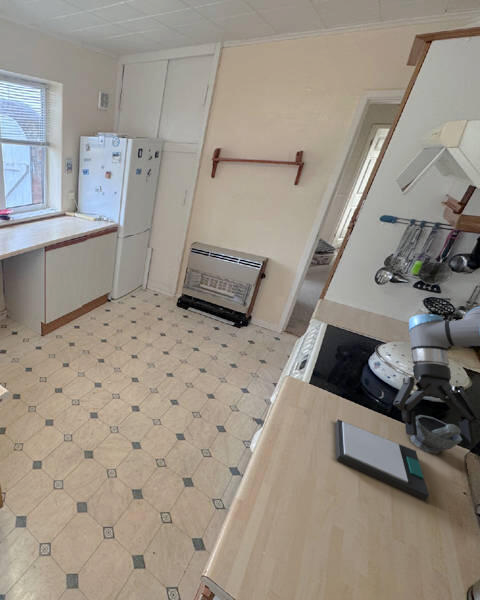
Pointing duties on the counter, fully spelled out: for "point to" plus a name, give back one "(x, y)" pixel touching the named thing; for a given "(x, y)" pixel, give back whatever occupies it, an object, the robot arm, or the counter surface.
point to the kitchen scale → (380, 459)
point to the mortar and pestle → (435, 434)
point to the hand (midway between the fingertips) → (439, 440)
